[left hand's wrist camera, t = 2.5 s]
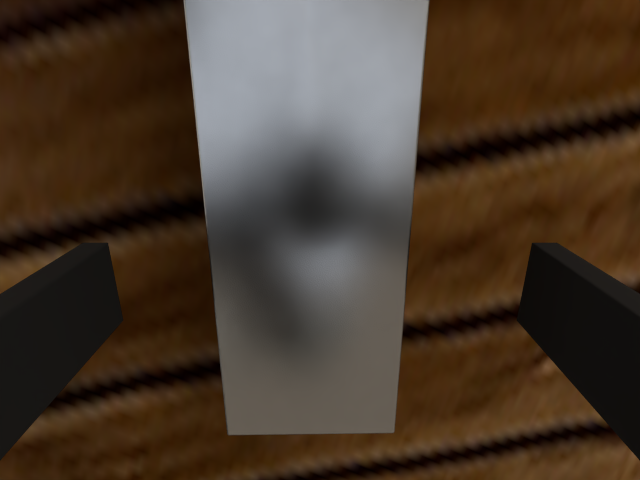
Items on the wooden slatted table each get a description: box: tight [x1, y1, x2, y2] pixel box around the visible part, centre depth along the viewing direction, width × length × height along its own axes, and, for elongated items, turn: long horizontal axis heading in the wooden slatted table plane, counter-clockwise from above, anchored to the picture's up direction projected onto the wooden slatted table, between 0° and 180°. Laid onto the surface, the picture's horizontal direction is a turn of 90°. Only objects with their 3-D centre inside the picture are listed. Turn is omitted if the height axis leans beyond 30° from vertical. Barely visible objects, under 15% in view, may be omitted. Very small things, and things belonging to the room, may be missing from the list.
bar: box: [183, 0, 430, 435], centre depth 12 cm, size 21×5×8 cm, turn 0°
